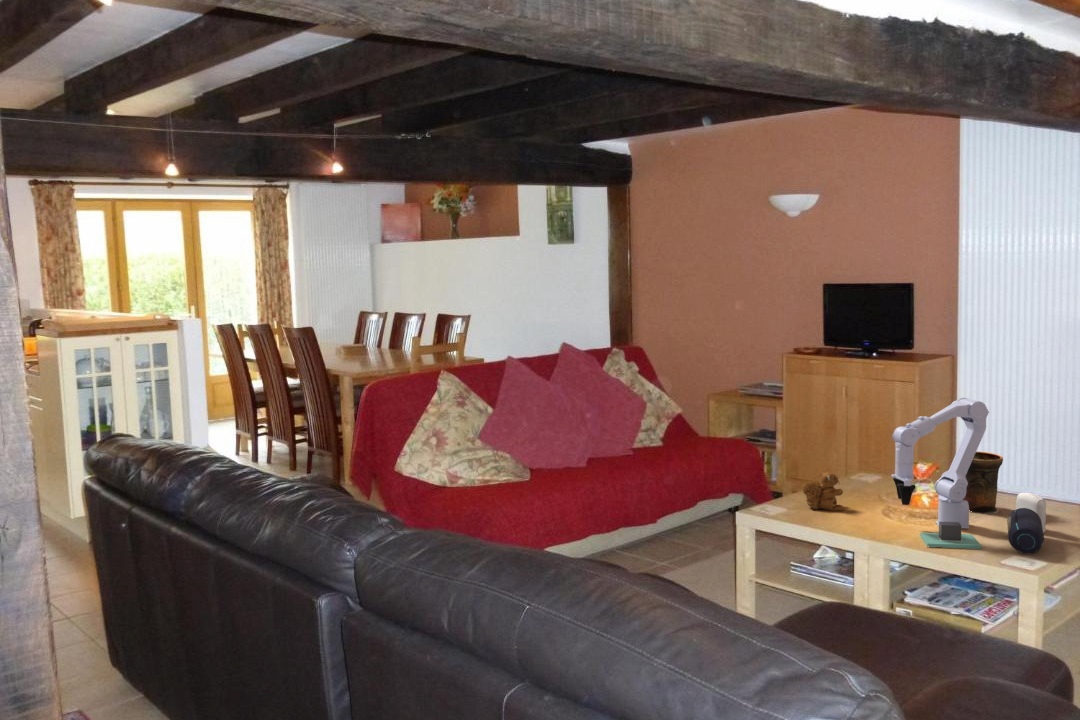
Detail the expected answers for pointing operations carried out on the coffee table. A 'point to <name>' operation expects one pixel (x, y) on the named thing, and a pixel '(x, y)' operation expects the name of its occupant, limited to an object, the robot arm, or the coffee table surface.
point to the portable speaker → (1025, 531)
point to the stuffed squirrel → (823, 493)
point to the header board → (966, 541)
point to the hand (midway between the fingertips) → (903, 501)
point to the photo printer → (1033, 505)
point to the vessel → (983, 482)
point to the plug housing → (950, 531)
